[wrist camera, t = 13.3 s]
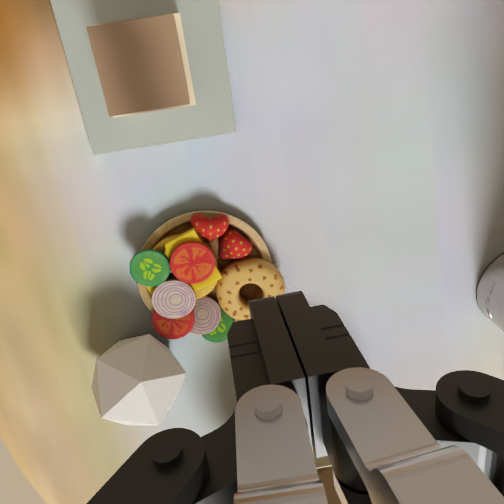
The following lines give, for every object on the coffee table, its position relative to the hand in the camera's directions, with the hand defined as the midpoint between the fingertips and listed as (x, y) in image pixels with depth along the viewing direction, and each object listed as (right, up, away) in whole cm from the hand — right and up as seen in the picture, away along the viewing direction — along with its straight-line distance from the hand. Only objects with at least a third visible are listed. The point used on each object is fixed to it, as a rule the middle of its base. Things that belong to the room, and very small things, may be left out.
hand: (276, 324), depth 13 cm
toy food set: (-5, 0, +32) cm, 32 cm away
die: (-12, -9, +34) cm, 37 cm away
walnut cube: (-8, +15, +19) cm, 25 cm away
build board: (-9, +17, +23) cm, 30 cm away
